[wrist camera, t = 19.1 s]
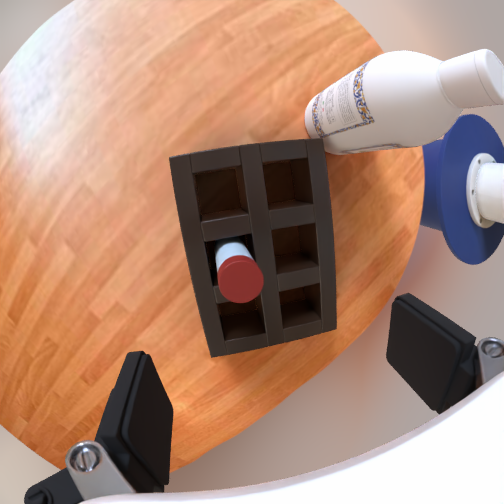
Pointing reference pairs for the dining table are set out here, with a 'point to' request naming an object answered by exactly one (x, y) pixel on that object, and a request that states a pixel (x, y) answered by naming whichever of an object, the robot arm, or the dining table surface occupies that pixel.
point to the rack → (262, 243)
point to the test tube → (237, 270)
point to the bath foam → (402, 100)
